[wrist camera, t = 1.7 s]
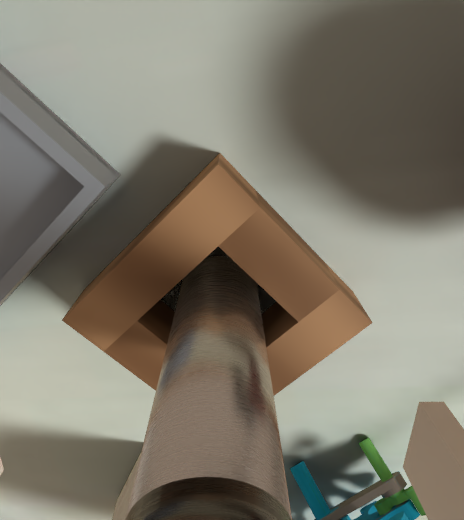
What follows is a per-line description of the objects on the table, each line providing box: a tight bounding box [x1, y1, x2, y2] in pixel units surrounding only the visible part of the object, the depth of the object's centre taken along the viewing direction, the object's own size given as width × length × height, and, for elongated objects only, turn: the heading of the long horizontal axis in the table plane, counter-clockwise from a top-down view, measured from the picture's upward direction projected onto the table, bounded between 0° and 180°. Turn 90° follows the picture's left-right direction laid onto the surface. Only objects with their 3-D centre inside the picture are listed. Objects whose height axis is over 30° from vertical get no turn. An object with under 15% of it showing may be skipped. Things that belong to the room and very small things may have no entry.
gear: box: [290, 438, 426, 520], centre depth 24 cm, size 11×6×10 cm
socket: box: [62, 153, 372, 395], centre depth 19 cm, size 10×10×3 cm
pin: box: [125, 256, 292, 520], centre depth 14 cm, size 4×4×14 cm
